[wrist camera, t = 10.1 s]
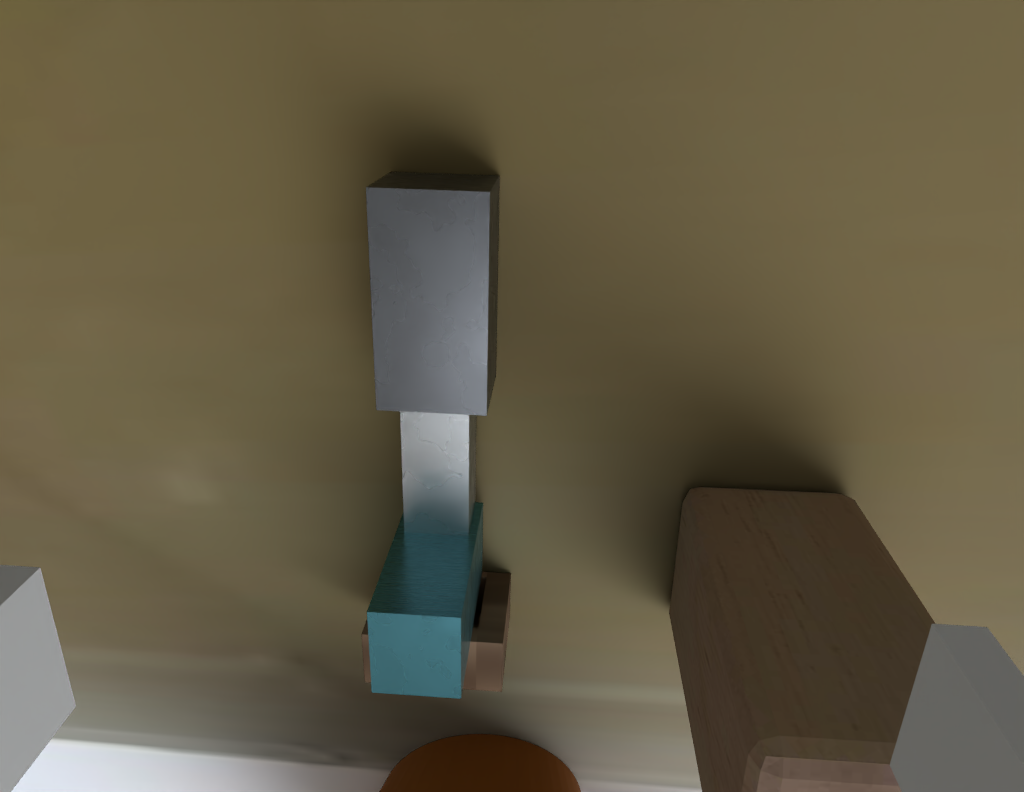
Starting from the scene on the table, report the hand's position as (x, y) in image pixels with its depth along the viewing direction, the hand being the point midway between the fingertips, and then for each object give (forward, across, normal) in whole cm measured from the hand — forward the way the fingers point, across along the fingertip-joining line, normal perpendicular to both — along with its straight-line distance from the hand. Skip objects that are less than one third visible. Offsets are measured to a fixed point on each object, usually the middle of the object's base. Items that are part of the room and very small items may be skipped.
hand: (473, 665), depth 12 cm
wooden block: (+32, +14, -19) cm, 40 cm away
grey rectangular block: (+32, -5, -2) cm, 32 cm away
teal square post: (+31, -5, -15) cm, 35 cm away
